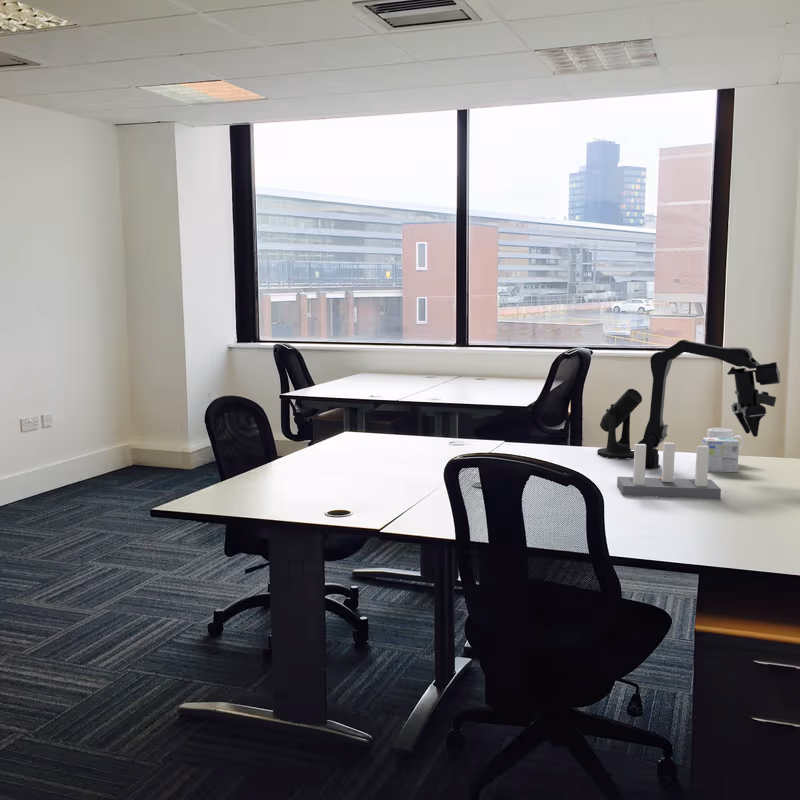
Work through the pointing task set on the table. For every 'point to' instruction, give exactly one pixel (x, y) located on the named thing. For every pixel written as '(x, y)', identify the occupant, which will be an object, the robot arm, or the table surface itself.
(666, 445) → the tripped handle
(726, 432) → the mug
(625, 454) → the microphone
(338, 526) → the table surface
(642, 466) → the three-peg stand
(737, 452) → the light bulb box
